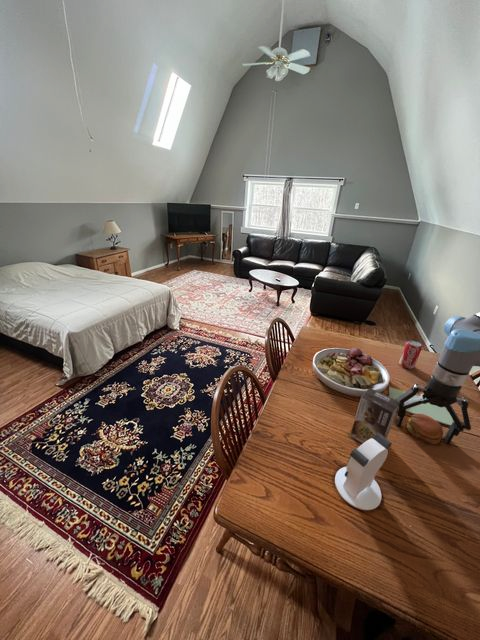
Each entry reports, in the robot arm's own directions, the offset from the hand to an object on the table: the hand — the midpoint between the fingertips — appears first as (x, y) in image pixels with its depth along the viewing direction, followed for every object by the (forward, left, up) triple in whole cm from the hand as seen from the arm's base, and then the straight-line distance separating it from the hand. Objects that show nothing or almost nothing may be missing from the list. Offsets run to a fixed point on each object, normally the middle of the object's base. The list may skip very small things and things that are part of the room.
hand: (422, 431), depth 88 cm
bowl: (+26, -19, 0) cm, 32 cm away
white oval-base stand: (+17, +30, 0) cm, 34 cm away
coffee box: (+16, +12, 0) cm, 20 cm away
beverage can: (+3, -42, 0) cm, 42 cm away
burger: (0, 0, 0) cm, 0 cm away
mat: (0, -14, 0) cm, 14 cm away
